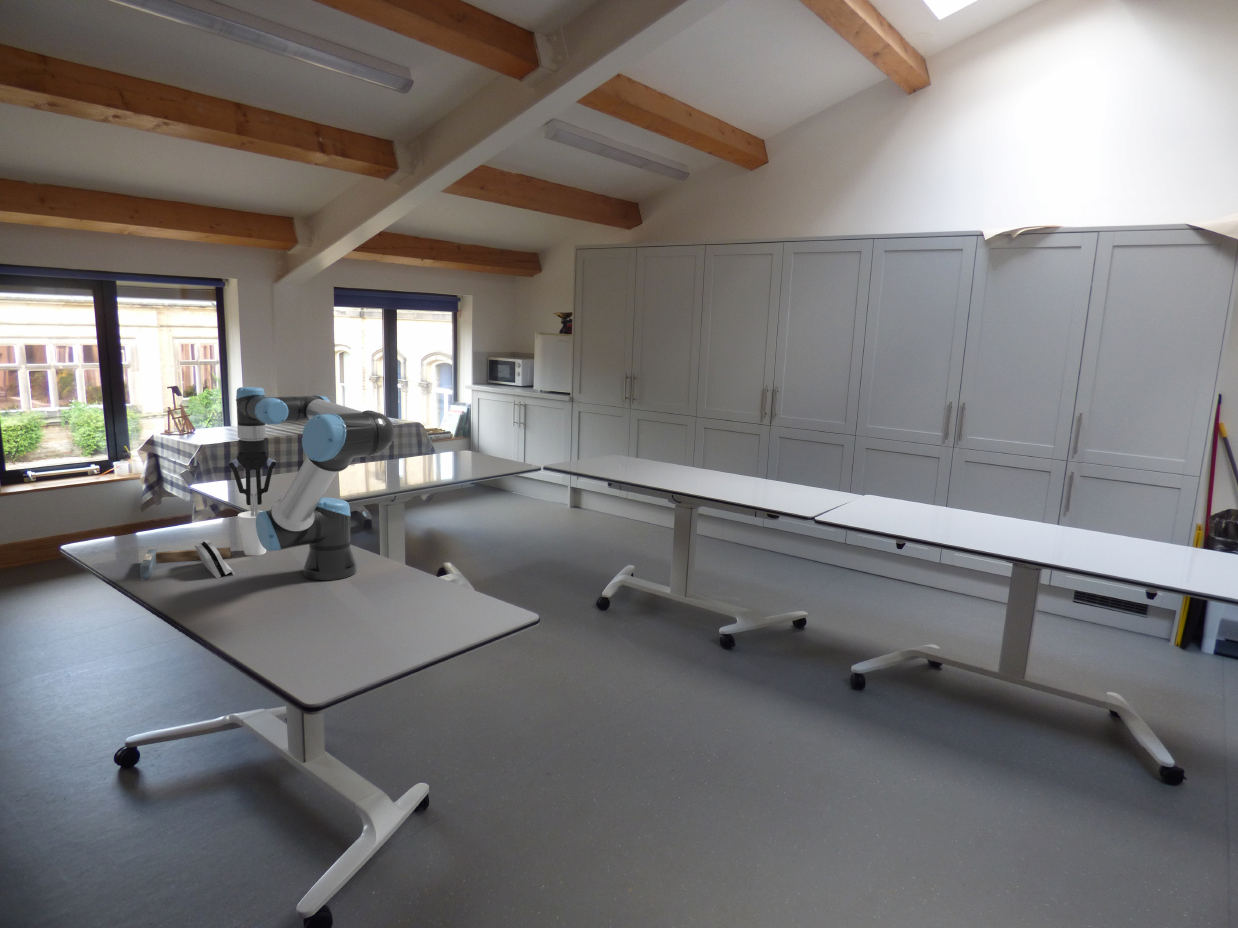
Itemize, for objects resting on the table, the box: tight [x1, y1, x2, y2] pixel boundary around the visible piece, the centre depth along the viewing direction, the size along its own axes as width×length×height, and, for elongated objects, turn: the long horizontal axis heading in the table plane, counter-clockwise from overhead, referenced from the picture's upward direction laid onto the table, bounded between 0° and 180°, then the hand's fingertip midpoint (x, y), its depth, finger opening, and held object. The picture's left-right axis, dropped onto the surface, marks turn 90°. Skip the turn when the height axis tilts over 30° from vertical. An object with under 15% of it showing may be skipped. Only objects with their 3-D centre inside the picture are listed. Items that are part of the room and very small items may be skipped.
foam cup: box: [237, 510, 267, 557], centre depth 233 cm, size 10×9×13 cm
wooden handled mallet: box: [139, 547, 232, 581], centre depth 217 cm, size 22×17×4 cm
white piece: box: [194, 539, 236, 579], centre depth 216 cm, size 17×5×10 cm, turn 42°
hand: (254, 515), depth 219 cm, fingers closed
